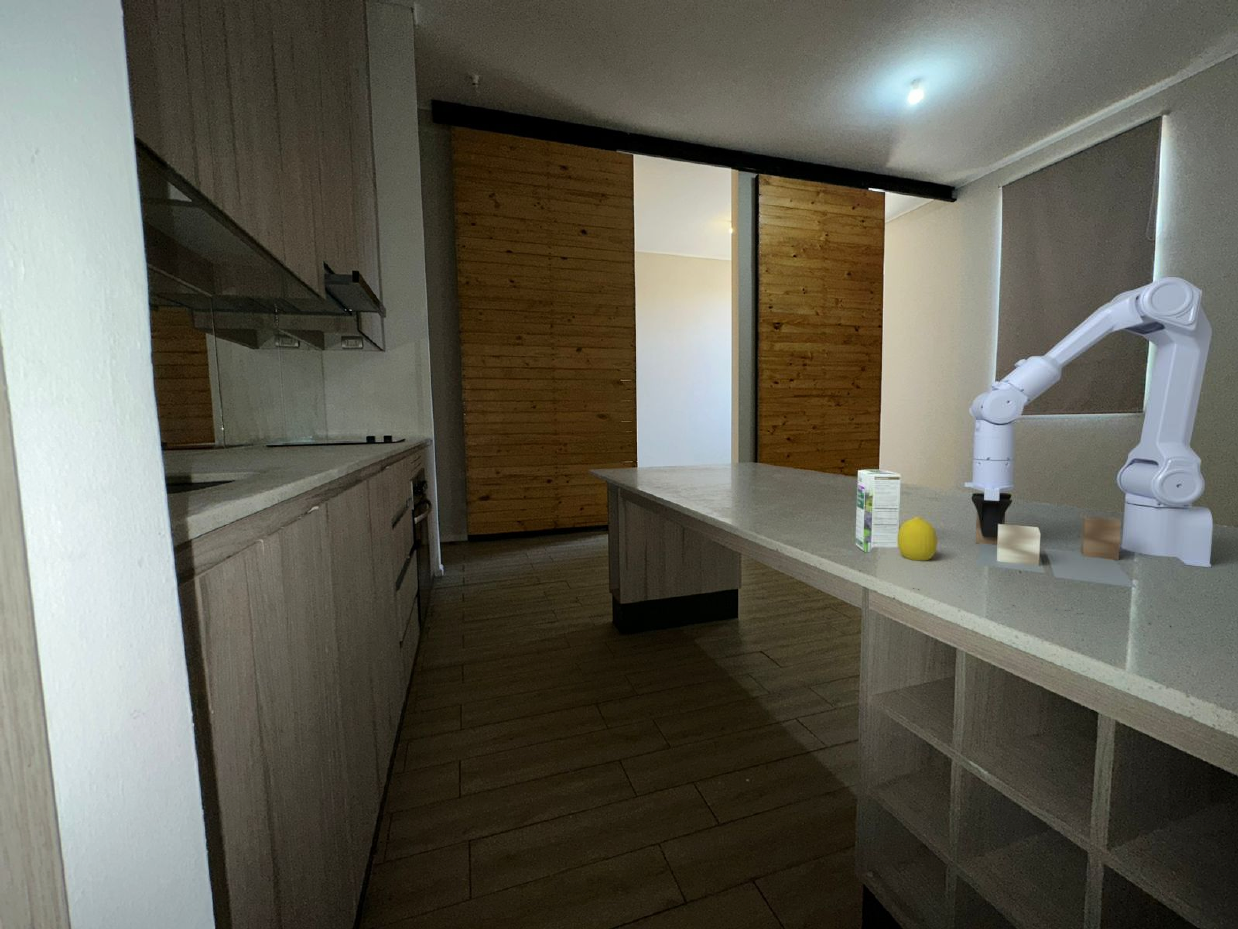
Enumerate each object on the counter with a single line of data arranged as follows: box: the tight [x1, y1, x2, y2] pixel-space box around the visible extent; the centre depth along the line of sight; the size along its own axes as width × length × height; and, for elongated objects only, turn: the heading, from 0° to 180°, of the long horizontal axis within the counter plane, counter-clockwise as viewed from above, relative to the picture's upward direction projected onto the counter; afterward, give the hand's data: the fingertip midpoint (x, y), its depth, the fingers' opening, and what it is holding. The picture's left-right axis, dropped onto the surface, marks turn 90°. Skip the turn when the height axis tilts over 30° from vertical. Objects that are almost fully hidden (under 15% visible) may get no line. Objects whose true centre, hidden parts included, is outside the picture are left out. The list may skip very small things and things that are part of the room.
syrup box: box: [855, 468, 902, 553], centre depth 90 cm, size 6×6×14 cm
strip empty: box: [1044, 515, 1137, 588], centre depth 74 cm, size 8×18×7 cm, turn 143°
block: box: [997, 524, 1041, 566], centre depth 78 cm, size 5×5×5 cm
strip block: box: [975, 511, 1046, 574], centre depth 81 cm, size 8×18×7 cm, turn 143°
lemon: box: [897, 516, 938, 562], centre depth 80 cm, size 6×6×8 cm
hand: (989, 534), depth 88 cm, fingers closed on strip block, 3 cm apart
